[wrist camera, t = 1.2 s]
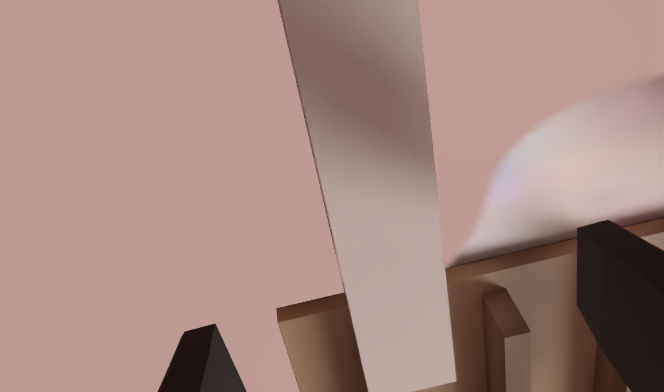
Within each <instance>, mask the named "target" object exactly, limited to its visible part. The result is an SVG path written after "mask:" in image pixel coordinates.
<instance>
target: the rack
mask: <svg viewBox="0 0 664 392" xmlns="http://www.w3.org/2000/svg"><path fill="white" fill-rule="evenodd" d="M622 228H624V229H626V230H628V231H629V232H631V233H633V234H635V235H637V236H638V237H640V238H642V239H644V240H646V241H647V242H649V243H651V244H653V245H654V246H656V247H658V248H660V249H662V250H663V251H664V218H660V219H656V220H652V221H647V222H643V223H639V224H635V225H630V226H626V227H622ZM445 272H446V282H447V292H448V302H449V312H450V322H451V332H452V341H453V351H454V361H455V371H456V382H452V383H447V384H443V385H439V386H435V387H431V388H426V389H422V390H418V391H414V392H631V390H630V389H629V388H628V386H627V385H626V384H625V382H624V381H623V379H622V378H621V377H620V375H619V374H618V372H617V371H616V370H615V368H614V367H613V365H612V364H611V363H610V361H609V360H608V358H607V357H606V355H605V354H604V353H603V351H602V350H601V348H600V346H599V345H598V343H597V341H596V339H595V337H594V336H593V334H592V332H591V330H590V329H589V327H588V325H587V323H586V321H585V319H584V317H583V315H582V313H581V312H580V310H579V308H578V306H577V238H575V239H571V240H566V241H562V242H558V243H554V244H549V245H545V246H541V247H536V248H532V249H528V250H524V251H519V252H515V253H511V254H507V255H502V256H498V257H494V258H490V259H485V260H481V261H477V262H472V263H468V264H464V265H460V266H455V267H451V268H447V269H445ZM277 319H278V325H279V328H280V331H281V334H282V337H283V340H284V344H285V347H286V350H287V353H288V356H289V359H290V362H291V365H292V368H293V371H294V374H295V377H296V381H297V383H298V387H299V390H300V392H368V388H367V384H366V380H365V376H364V372H363V367H362V363H361V359H360V355H359V350H358V346H357V342H356V338H355V334H354V329H353V325H352V321H351V317H350V312H349V308H348V304H347V300H346V295H345V293H341V294H336V295H332V296H327V297H323V298H319V299H315V300H311V301H306V302H302V303H298V304H293V305H289V306H285V307H281V308H277Z"/></svg>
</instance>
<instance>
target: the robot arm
mask: <svg viewBox="0 0 664 392" xmlns="http://www.w3.org/2000/svg"><path fill="white" fill-rule="evenodd" d="M577 306H578V308H579V310H580V312H581V313H582V315H583V317H584V319H585V321H586V323H587V325H588V327H589V329H590V330H591V332H592V334H593V336H594V337H595V339H596V341H597V343H598V345H599V346H600V348H601V350H602V351H603V353H604V354H605V355H606V357H607V358H608V360H609V361H610V363H611V364H612V365H613V367H614V368H615V370H616V371H617V372H618V374H619V375H620V377H621V378H622V379H623V381H624V382H625V384H626V385H627V386H628V388H629V389H630V390H631V392H664V251H663V250H662V249H660V248H658V247H656V246H654V245H653V244H651V243H649V242H647V241H646V240H644V239H642V238H640V237H638V236H637V235H635V234H633V233H631V232H629V231H628V230H626V229H624V228H622V227H620V226H619V225H617V224H615V223H613V222H611V221H609V220H606V221H602V222H598V223H594V224H591V225H587V226H583V227H579V228H577ZM158 392H246V389H245V387H244V385H243V383H242V381H241V378H240V376H239V374H238V372H237V370H236V367H235V365H234V363H233V361H232V359H231V357H230V354H229V352H228V350H227V348H226V346H225V344H224V341H223V339H222V337H221V335H220V333H219V331H218V328H217V326H216V324H212V325H208V326H204V327H200V328H197V329H193V330H189V331H186V332H184V334H183V335H182V337H181V339H180V341H179V344H178V346H177V348H176V351H175V353H174V356H173V358H172V360H171V363H170V365H169V367H168V370H167V372H166V374H165V377H164V379H163V381H162V383H161V385H160V388H159V390H158Z"/></svg>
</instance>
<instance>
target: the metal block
mask: <svg viewBox="0 0 664 392" xmlns="http://www.w3.org/2000/svg"><path fill="white" fill-rule="evenodd" d="M278 3H279V8H280V12H281V17H282V21H283V26H284V30H285V34H286V39H287V43H288V48H289V52H290V56H291V61H292V65H293V69H294V74H295V78H296V83H297V87H298V91H299V96H300V100H301V104H302V109H303V113H304V118H305V122H306V126H307V130H308V135H309V139H310V144H311V148H312V153H313V157H314V161H315V166H316V170H317V174H318V179H319V183H320V187H321V192H322V196H323V201H324V205H325V209H326V214H327V218H328V222H329V227H330V231H331V235H332V240H333V245H334V249H335V253H336V257H337V262H338V266H339V270H340V274H341V279H342V283H343V287H344V291H345V295H346V300H347V304H348V308H349V312H350V317H351V321H352V325H353V329H354V334H355V338H356V342H357V346H358V350H359V355H360V359H361V363H362V367H363V372H364V376H365V380H366V384H367V388H368V392H414V391H418V390H422V389H426V388H431V387H435V386H439V385H443V384H447V383H452V382H456V371H455V361H454V351H453V341H452V332H451V322H450V312H449V302H448V292H447V282H446V272H445V262H444V253H443V243H442V233H441V223H440V214H439V203H438V193H437V183H436V173H435V163H434V154H433V144H432V134H431V124H430V114H429V104H428V94H427V84H426V74H425V65H424V55H423V44H422V35H421V25H420V15H419V5H418V0H278Z"/></svg>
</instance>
